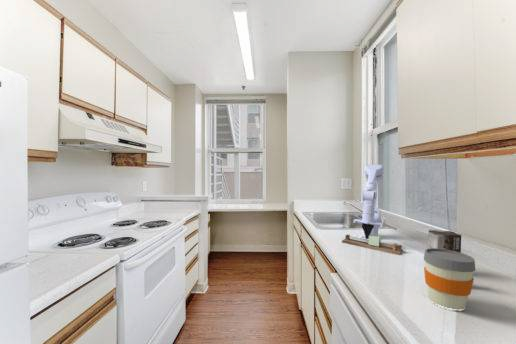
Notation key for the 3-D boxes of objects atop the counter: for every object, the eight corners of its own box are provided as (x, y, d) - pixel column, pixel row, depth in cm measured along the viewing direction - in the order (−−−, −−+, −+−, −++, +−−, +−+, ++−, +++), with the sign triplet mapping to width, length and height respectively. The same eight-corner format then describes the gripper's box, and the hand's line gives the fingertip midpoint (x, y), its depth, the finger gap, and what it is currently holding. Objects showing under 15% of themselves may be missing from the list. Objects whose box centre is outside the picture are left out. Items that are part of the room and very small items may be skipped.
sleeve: (370, 242, 133) (371, 234, 133) (380, 244, 130) (381, 236, 130) (368, 244, 130) (368, 235, 130) (378, 246, 127) (379, 237, 127)
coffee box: (449, 269, 103) (451, 230, 103) (460, 275, 97) (462, 235, 97) (426, 267, 104) (428, 229, 104) (435, 274, 98) (437, 233, 98)
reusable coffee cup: (420, 289, 85) (422, 245, 84) (467, 300, 78) (470, 253, 78) (423, 306, 74) (425, 256, 74) (478, 320, 67) (481, 266, 67)
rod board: (347, 239, 143) (347, 232, 143) (402, 250, 126) (403, 243, 126) (341, 242, 136) (342, 235, 136) (399, 255, 119) (399, 247, 119)
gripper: (352, 212, 133) (351, 237, 134) (381, 216, 124) (380, 242, 125) (356, 210, 139) (355, 234, 139) (384, 214, 130) (383, 240, 130)
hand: (367, 238), depth 132 cm, fingers closed
